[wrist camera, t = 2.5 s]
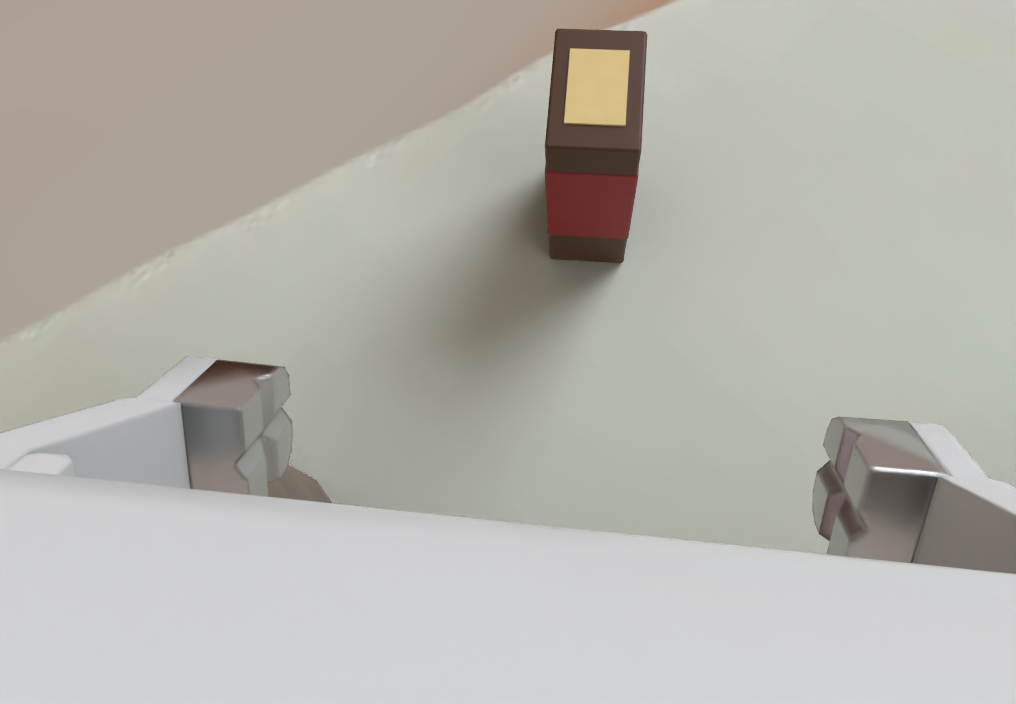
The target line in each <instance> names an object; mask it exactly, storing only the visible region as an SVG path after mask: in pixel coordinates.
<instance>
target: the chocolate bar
mask: <svg viewBox="0 0 1016 704" xmlns="http://www.w3.org/2000/svg"><path fill="white" fill-rule="evenodd" d="M646 47H647V33H646V32H643V31H613V30H581V29H557V30H556V32H555V43H554V53H553V64H552V75H551V86H550V97H549V108H548V119H547V130H546V141H545V157H546V165H545V184H546V204H547V225H548V234H549V245H550V258H552V259H566V260H583V261H600V262H617V263H622V262H623V260H624V253H625V247H626V241H627V239H628V235H629V229H630V223H631V217H632V211H633V205H634V199H635V193H636V187H637V180H638V170H639V161H640V154H641V144H642V124H643V105H644V86H645V66H646Z"/></svg>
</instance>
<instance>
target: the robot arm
mask: <svg viewBox="0 0 1016 704" xmlns="http://www.w3.org/2000/svg"><path fill="white" fill-rule="evenodd" d="M290 395H291V394H290V383H289V374H288V372H287V371H286V369H285V367H283V366H274V365H264V364H255V363H246V362H237V361H228V360H221V359H218V358H202V357H185V358H183V359H182V360H181V361H180V362H179V363H177V364H176V365H175V366H174V367H173V368H171V369H170V370H169V371H168V372H167V373H165V374H164V375H163V376H162V377H161V378H159V379H158V380H157V381H156V382H155V383H153V384H152V385H151V386H150V387H149V388H147V389H146V390H145V391H144V392H143V393H141V394H140V395H139V396H138V397H137V398H128V397H125V398H121V399H118V400H114V401H111V402H107V403H104V404H100V405H97V406H93V407H89V408H86V409H82V410H79V411H75V412H72V413H68V414H64V415H61V416H57V417H54V418H50V419H47V420H43V421H40V422H36V423H32V424H29V425H25V426H22V427H18V428H15V429H11V430H8V431H4V432H0V704H1016V487H1014V486H1011V485H1009V484H1007V483H1005V482H1003V481H997V480H990V479H989V478H988V476H987V475H986V474H985V473H984V472H983V470H982V469H981V468H980V467H979V466H978V464H977V463H976V462H975V461H974V460H973V458H972V457H971V456H970V455H969V454H968V452H967V451H966V450H965V449H964V448H963V446H962V445H961V444H960V443H959V442H958V440H957V439H956V438H955V437H954V436H953V434H952V433H951V432H950V431H949V430H948V429H947V427H946V426H943V425H940V424H926V423H908V421H893V420H879V419H865V418H850V417H836V418H833V419H831V422H830V424H829V426H828V428H827V431H826V435H825V439H824V443H823V446H824V448H825V450H826V452H827V454H828V456H829V458H830V460H829V461H828V462H827V463H826V464H825V465H824V466H823V467H822V468H820V469H819V470H818V471H817V474H816V479H815V484H814V489H813V516H814V522H815V525H816V527H817V530H818V532H819V534H820V535H822V536H823V537H824V538H826V539H827V540H829V541H830V542H829V546H828V551H827V554H828V555H827V554H817V553H808V552H798V551H788V550H779V549H769V548H759V547H750V546H740V545H730V544H721V543H711V542H701V541H692V540H682V539H672V538H663V537H653V536H643V535H634V534H624V533H614V532H605V531H595V530H585V529H576V528H566V527H556V526H547V525H537V524H527V523H518V522H508V521H498V520H489V519H479V518H469V517H460V516H450V515H440V514H431V513H421V512H411V511H402V510H392V509H382V508H373V507H363V506H353V505H344V504H334V503H324V502H315V501H305V500H295V499H286V498H276V497H268V495H269V494H268V484H269V483H272V482H274V481H276V480H278V479H280V477H281V476H282V474H283V473H284V471H285V470H286V468H287V464H288V461H289V458H290V454H291V451H292V439H293V429H292V420H291V419H290V418H289V416H288V415H287V414H286V412H285V411H284V410H283V408H282V406H283V404H284V403H285V402H286V400H287V399H288V398H289V396H290Z"/></svg>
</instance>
